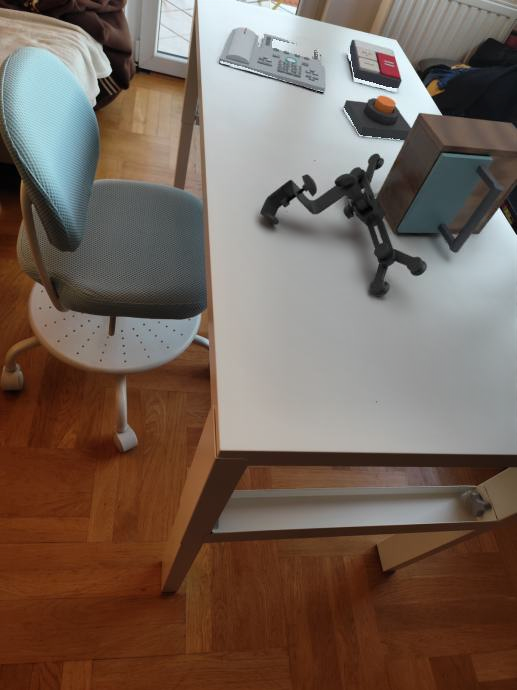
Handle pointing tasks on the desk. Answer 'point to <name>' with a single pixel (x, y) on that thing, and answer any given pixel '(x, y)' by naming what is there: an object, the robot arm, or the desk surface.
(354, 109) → the switch block
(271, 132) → the desk surface
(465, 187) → the sliding door
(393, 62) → the button panel
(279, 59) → the office telephone
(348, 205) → the tablet mount
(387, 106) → the light button
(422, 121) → the closet
